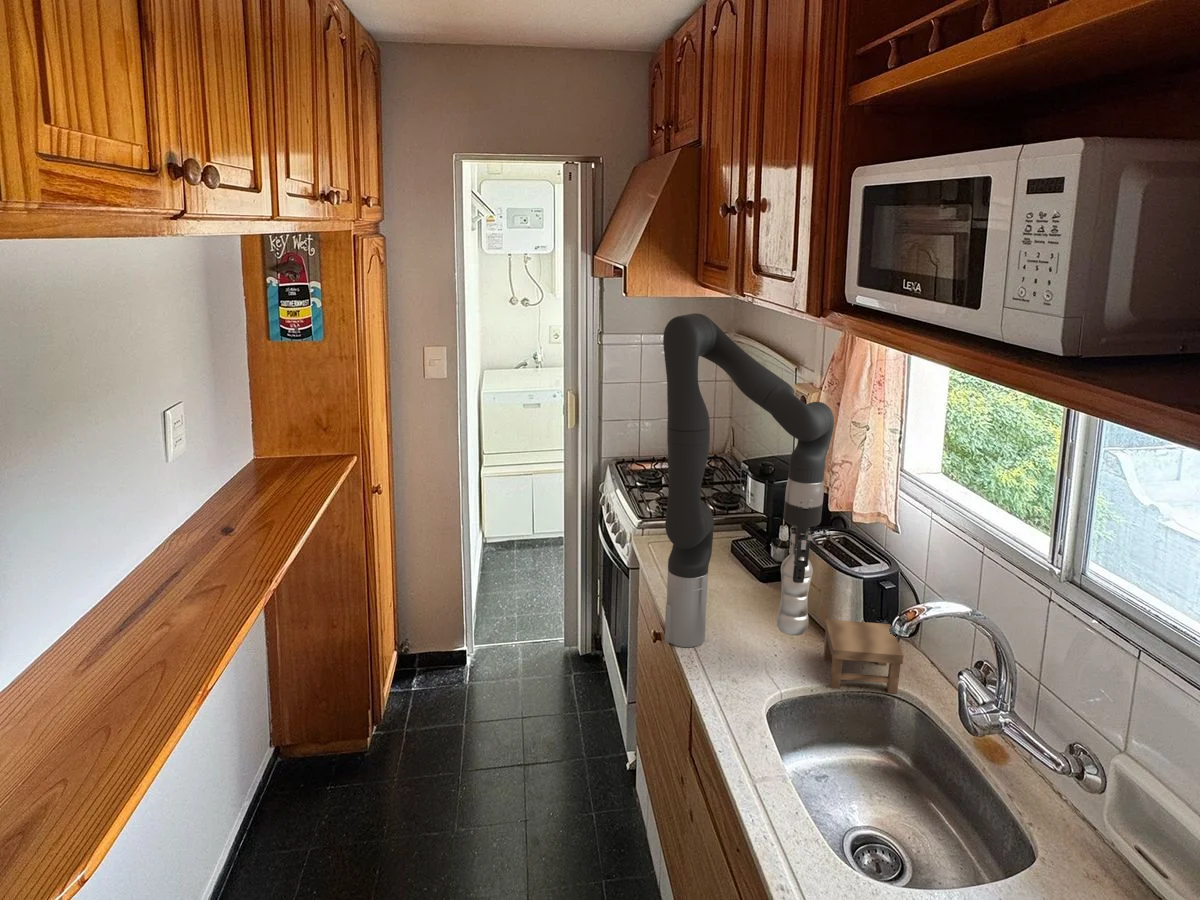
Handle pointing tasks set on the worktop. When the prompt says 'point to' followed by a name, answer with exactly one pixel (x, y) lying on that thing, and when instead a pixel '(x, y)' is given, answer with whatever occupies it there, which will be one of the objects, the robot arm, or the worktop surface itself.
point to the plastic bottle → (793, 598)
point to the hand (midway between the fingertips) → (796, 575)
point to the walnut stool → (862, 650)
